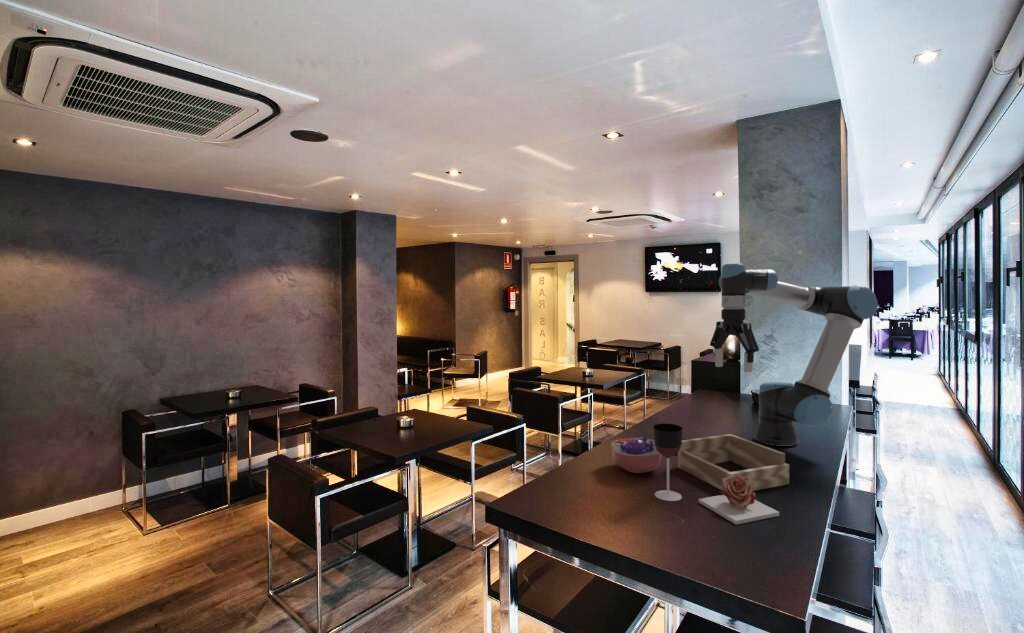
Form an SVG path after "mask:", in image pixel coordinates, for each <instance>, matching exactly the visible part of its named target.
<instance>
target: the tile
mask: <svg viewBox="0 0 1024 633" xmlns="http://www.w3.org/2000/svg"><path fill="white" fill-rule="evenodd" d="M754 501H755V502H754V504H750V505H748V506H747V507H746V508H745V507H743V505H741V504H739V505H737V504H736V505H734V504H731V505H730V502H729V500H728V499H727V498H726V496H725V495H724V494H721V495H715V496H714V495H713V496H706V497H703V498H698V503H699V504H700V505H702V506H704V507H706V508H707V509H709V510H711V511H713V512H714V513H716V514H717V515H719V516H721V517H722V518H724V519H726V520H728V521H729V522H730V523H732V524H734V525H741V524H747V523H751V522H756V521H760V520H765V519H770V518H775V517H780V511H778V510H776V509H774V508H772V507H770V506H768V505H766V504H764V503H762V502H760V501H758V500H757V499H755V500H754Z"/></svg>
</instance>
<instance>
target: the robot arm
mask: <svg viewBox="0 0 1024 633" xmlns="http://www.w3.org/2000/svg"><path fill="white" fill-rule="evenodd" d="M718 285H719V288H720V289H721V308H722V310H721V309H720V310H721V312H720V313H721V315H720V316H721V320H723V321H716V323H715V329H714V332H713V335H712V337H711V340H710V343H709V346H710V347H713V349H714V350H713V351H714V356H713V357H714V359H715V362H714V363H715V368H721V367H723V366H724V348H723V345H724V344H725V342H726V341H727V340H728V338H729V336H734V337H736V338H738V340H739V342H740V344H741V346H742V347H743V349H744V350H745V351H744V353H743V355H744V356H743V372H744V373H753V363H754V359H755V358H754V357H755V356H754V354H755V353H757V352H759V351H760V348H759V346H758V345H759V344H758V343H757V340H756V337H755V334H754V332H753V330H752V323H750V322H746V323H745V322H744V320H745V319H746V310H745V308H746V295H749V296H753V297H758V298H762V299H767V300H770V301H774V302H779V303H782V304H788V305H791V306H794V307H796V308H797V309H799V310H801V311H804V312H808V313H812V314H815V315H819V316H822V317H825V320H826V324H825V326H824V327H823V330H822V333H821V335H820V337H819V339H818V342H817V344H816V347H815V348H814V350H813V353H812V355H811V357H810V360H809V362H808V364H807V366H806V369H805V371H804V372H803V375H802V377H801V379H799V380H796V381H795V382H794V384H793V382H782V381H781V382H776V381H775V382H763V383H761V384H760V385H759V392H758V407H759V409H758V410H759V413H758V416H759V419H758V422H757V426H756V428H755V431H754V434H753V438H755V439H756V440H758V441H760V442H764V443H768V444H774V445H793V444H796V443H798V444H799V436H798V435H797V433H796V427H795V424H794V422H795V423H799V424H800V425H803V426H809V427H819V426H822V425H823V424H825V423H827V421H828V420H830V418H831V416H832V414H833V403H832V401H831V398H830V397H831V393H830V391H829V387H830V385H831V382H832V381H833V378H834V376H835V374H836V372H837V369H838V366H839V364H840V362H841V359H842V358H843V355H844V353H845V352H846V348H847V346H848V344H849V342H850V339H851V337H852V334H853V333H854V330H856V329H860V328H861V327H862V325H863V322H864V321H865V320H869V319H871V318H873V317H874V316H875V315H876V313H877V311H878V305H879V304H878V299H877V296H876V294H875V292H874V291H873V290H872V289H870V287H866V286H863V285H862V286H860V285H850V286H847V285H846V286H822V287H821V286H812V285H803V286H801V285H796V284H791V283H788V282H783V281H779V278H778V273H777V272H776V271H775V270H774V269H769V268H768V269H767V268H762V269H747V268H746V264H745V263H726V264H723V265H722V267H721V275H720V276H719V278H718ZM755 439H754V440H755ZM756 440H755V441H756Z"/></svg>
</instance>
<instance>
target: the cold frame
mask: <svg viewBox="0 0 1024 633" xmlns="http://www.w3.org/2000/svg"><path fill="white" fill-rule="evenodd" d="M688 439H689V440H682V443H681V447H680V450H679V452H678V455H677V468H679V469H680V470H682V471H684V472H686V473H688V474H690V475H691V476H694V477H696V478H697V479H699V480H701V481H704V482H705V483H707V484H709V485H711V486H713V487H715V488H717V489H719V490H720V491H721V492H723V489H722V479H723V478H728V477H730V476H732V475H734V474H738V475H739V476H744V477H745V478H748V479H749V482H751V483H753V486H751V487H754V489H753V492H754V491H759V490H764V489H766V490H767V489H770V488H776V487H783V486H786V485H787V484H788V485H790V464H789V463H786V453H785V452H783V451H779V450H776V449H774V448H771V447H768V446H767V445H766V446H765V445H764V444H761V443H758V442H754V441H751V440H749V439H747V438H746V439H745V438H743V437H740V436H737V435H734V434H732V433H729V434H728V433H727V434H720V435H713V436H705V437H697V438H688ZM731 461H732V462H731ZM728 462H731V463H733V462H734V464H736V465H738V464H739V465H738V466H740V465H741V467H742V468H745V469H742V470H735V471H729V470H728V469H725V468H723V467H721V466H718V465H717V464H721V463H728Z"/></svg>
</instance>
